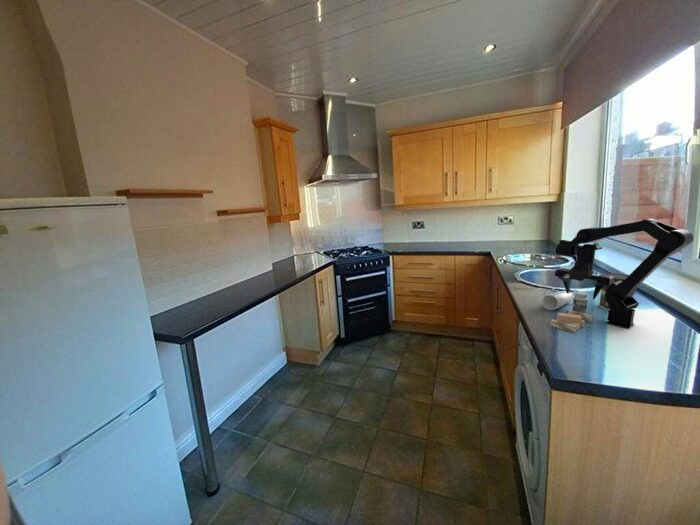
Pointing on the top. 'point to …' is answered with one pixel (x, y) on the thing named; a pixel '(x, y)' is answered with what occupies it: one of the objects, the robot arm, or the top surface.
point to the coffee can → (617, 277)
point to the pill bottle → (580, 302)
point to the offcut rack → (569, 326)
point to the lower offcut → (575, 325)
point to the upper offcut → (569, 318)
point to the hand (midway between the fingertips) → (580, 296)
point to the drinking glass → (556, 300)
